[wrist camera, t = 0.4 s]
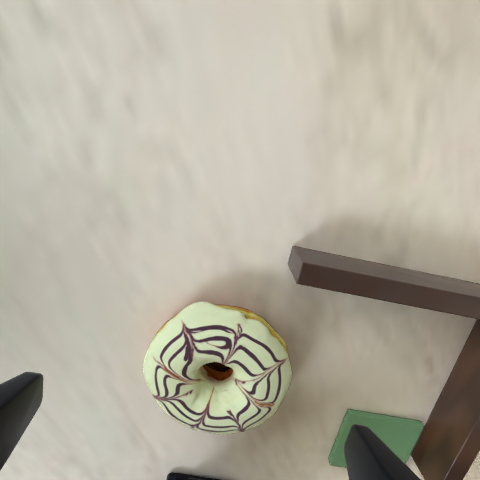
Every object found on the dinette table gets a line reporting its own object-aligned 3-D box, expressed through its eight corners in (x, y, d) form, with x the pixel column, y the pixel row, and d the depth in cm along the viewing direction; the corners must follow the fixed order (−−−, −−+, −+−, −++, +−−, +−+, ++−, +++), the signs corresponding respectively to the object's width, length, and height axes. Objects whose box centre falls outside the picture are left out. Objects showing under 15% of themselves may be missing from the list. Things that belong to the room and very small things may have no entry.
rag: (396, 469, 28) (400, 476, 27) (327, 459, 27) (329, 465, 27) (420, 420, 26) (424, 426, 25) (347, 408, 25) (350, 414, 25)
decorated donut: (180, 272, 22) (169, 295, 18) (307, 322, 23) (320, 353, 19) (137, 378, 24) (119, 417, 21) (253, 418, 26) (256, 461, 22)
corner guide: (425, 457, 27) (451, 499, 24) (242, 428, 26) (243, 468, 23) (511, 290, 22) (559, 313, 19) (292, 245, 21) (302, 262, 18)
